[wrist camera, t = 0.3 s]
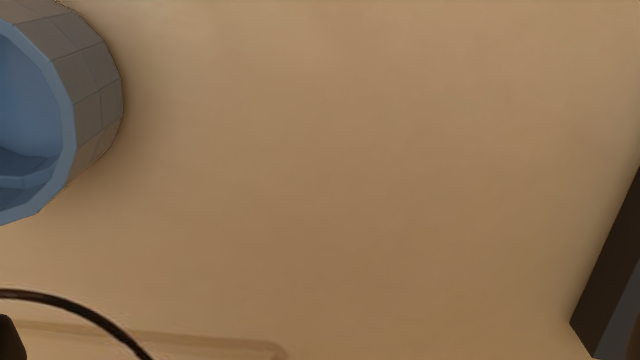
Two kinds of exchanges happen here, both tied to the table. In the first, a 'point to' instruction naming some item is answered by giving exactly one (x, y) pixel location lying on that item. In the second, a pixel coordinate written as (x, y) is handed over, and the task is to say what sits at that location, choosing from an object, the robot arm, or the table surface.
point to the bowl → (51, 103)
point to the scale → (613, 287)
